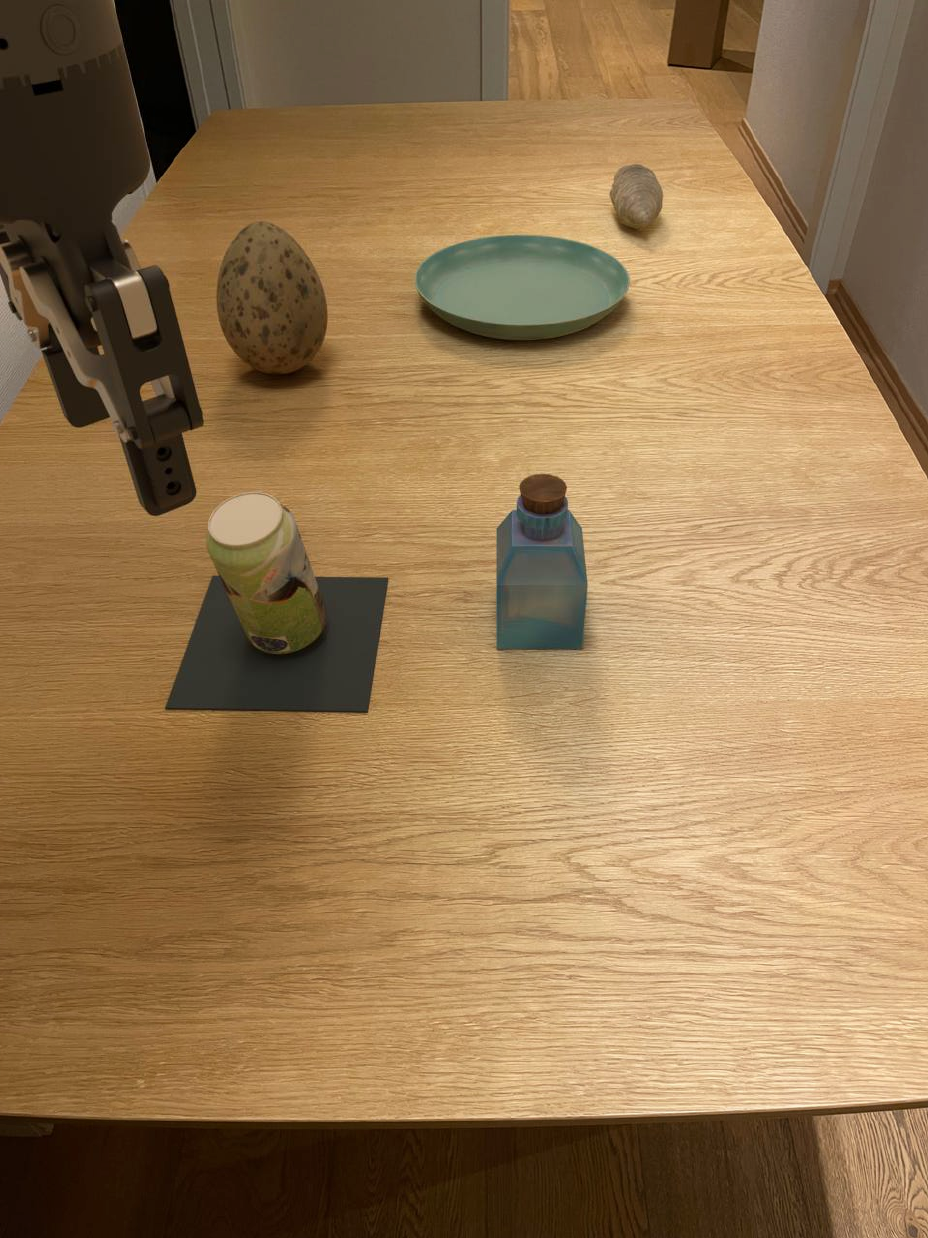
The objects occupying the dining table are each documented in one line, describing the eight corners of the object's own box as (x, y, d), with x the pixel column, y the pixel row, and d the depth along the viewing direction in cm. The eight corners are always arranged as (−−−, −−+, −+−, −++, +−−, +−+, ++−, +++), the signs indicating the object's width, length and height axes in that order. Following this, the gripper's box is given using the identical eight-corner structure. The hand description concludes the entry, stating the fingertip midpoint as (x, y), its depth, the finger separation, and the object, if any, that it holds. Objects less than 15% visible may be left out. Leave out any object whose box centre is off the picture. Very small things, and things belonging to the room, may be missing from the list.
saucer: (608, 364, 101) (610, 334, 98) (387, 339, 106) (384, 310, 104) (641, 269, 118) (644, 241, 115) (450, 251, 123) (449, 225, 120)
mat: (367, 712, 66) (367, 711, 66) (165, 709, 67) (165, 707, 67) (388, 578, 76) (388, 577, 76) (212, 577, 77) (212, 575, 77)
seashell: (616, 222, 121) (631, 152, 118) (598, 225, 134) (611, 162, 131) (666, 231, 122) (682, 162, 119) (643, 233, 134) (657, 171, 132)
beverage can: (344, 618, 73) (324, 486, 65) (291, 683, 68) (263, 550, 60) (273, 596, 75) (246, 465, 67) (217, 658, 70) (180, 526, 62)
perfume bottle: (577, 592, 75) (586, 460, 67) (582, 649, 70) (593, 515, 62) (496, 592, 75) (496, 461, 67) (496, 648, 70) (496, 515, 62)
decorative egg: (303, 334, 107) (283, 194, 97) (353, 373, 101) (336, 227, 90) (213, 363, 103) (182, 220, 92) (259, 406, 96) (230, 256, 86)
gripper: (-172, 19, 34) (-8, 422, 45) (-57, 110, 26) (110, 578, 37) (39, -12, 37) (144, 371, 48) (203, 59, 29) (285, 504, 40)
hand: (129, 460), depth 42 cm, fingers open, 8 cm apart
